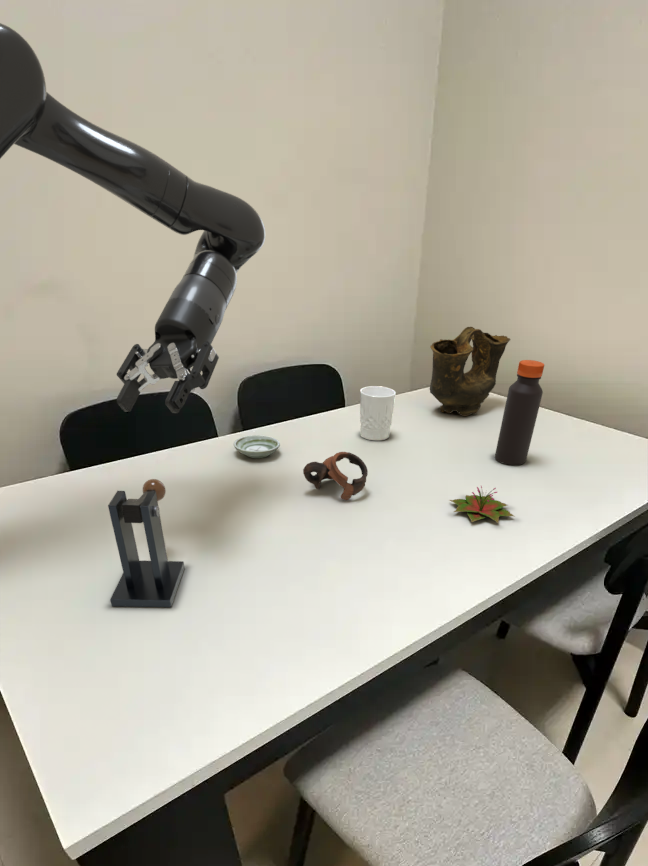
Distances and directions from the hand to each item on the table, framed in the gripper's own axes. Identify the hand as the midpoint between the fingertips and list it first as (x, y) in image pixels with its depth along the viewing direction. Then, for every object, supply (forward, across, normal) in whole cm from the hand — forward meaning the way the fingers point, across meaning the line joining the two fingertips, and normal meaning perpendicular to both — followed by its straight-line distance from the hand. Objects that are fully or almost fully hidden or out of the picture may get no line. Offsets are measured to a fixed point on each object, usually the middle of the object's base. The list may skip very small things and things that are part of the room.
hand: (146, 408), depth 78 cm
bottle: (-40, +36, +59) cm, 80 cm away
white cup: (-40, +5, +54) cm, 68 cm away
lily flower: (-16, +37, +44) cm, 60 cm away
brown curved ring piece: (-14, +10, +37) cm, 41 cm away
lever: (+11, 0, +7) cm, 14 cm away
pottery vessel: (-64, +17, +71) cm, 97 cm away
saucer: (-22, -12, +39) cm, 46 cm away
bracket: (+20, +1, +13) cm, 24 cm away
